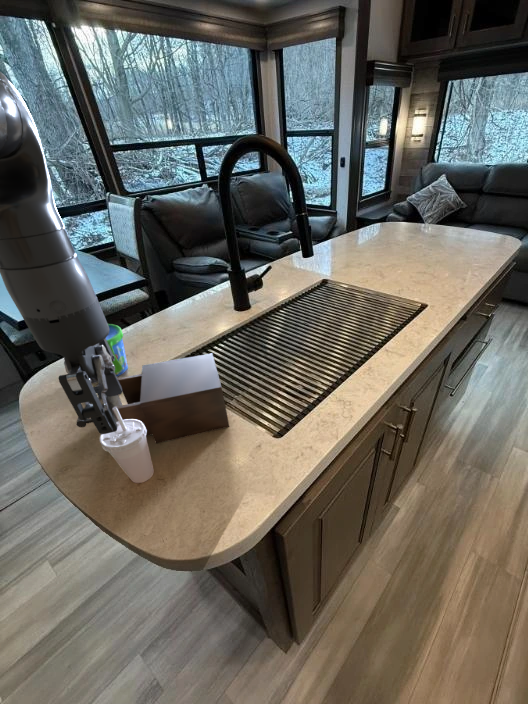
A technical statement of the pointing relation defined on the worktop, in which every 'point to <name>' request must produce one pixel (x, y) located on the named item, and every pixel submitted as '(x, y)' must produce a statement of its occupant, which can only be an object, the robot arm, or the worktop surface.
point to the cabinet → (182, 397)
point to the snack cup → (117, 349)
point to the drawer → (132, 396)
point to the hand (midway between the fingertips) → (112, 411)
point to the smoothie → (129, 448)
